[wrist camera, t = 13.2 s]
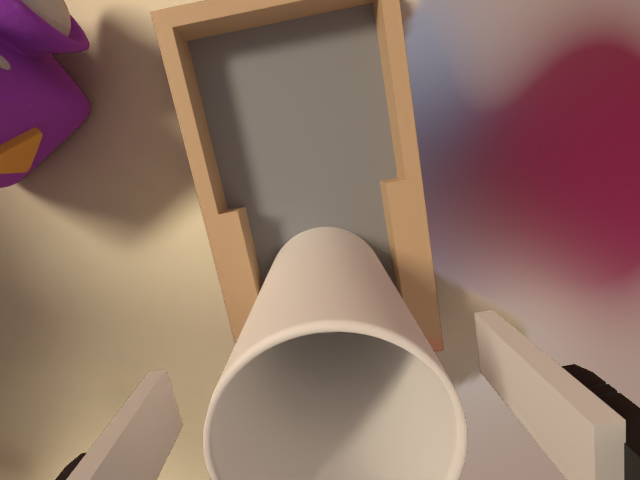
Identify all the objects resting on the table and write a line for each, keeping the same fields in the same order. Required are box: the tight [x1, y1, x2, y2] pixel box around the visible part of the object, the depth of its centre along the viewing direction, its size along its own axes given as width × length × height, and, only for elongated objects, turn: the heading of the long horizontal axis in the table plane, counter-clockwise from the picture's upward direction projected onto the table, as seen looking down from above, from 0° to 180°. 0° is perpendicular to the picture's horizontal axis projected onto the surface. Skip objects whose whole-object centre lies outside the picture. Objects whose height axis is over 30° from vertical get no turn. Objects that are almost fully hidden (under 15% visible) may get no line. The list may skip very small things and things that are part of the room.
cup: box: [203, 227, 468, 480], centre depth 19 cm, size 8×8×16 cm
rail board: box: [151, 0, 444, 352], centre depth 25 cm, size 15×24×4 cm, turn 11°
